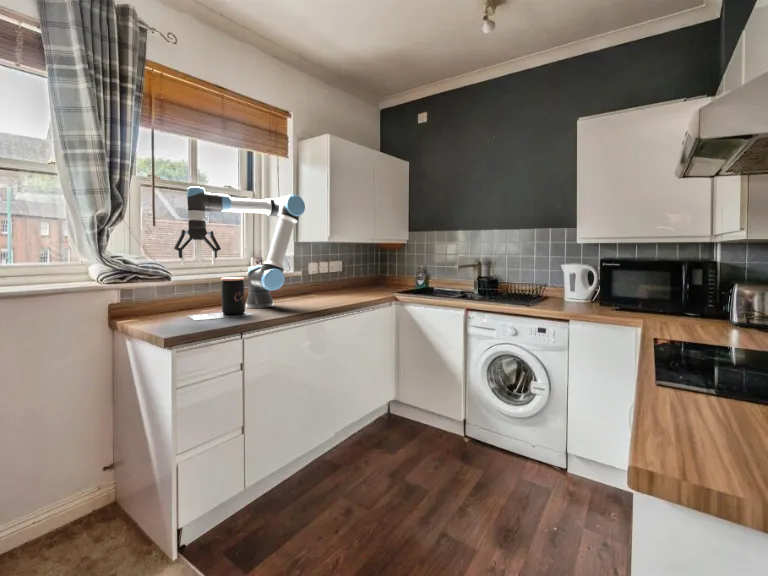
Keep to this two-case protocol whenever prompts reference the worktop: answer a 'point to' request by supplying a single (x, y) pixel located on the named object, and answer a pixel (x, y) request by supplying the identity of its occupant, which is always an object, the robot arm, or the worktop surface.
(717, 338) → the worktop surface
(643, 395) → the worktop surface
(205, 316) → the label board
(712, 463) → the worktop surface
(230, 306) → the coffee jar
